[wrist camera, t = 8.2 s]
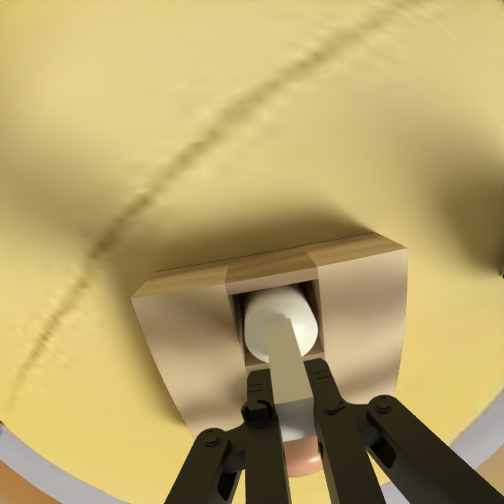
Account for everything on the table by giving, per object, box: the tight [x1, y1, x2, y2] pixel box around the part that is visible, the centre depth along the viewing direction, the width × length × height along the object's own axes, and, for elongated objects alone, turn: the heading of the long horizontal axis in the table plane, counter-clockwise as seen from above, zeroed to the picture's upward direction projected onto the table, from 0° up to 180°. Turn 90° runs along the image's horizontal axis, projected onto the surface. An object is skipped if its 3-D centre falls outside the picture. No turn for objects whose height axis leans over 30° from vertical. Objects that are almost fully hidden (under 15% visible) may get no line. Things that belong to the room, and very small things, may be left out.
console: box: [130, 233, 408, 440], centre depth 21 cm, size 20×18×5 cm
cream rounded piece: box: [245, 283, 318, 363], centre depth 18 cm, size 4×4×4 cm
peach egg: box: [283, 435, 323, 477], centre depth 20 cm, size 4×4×4 cm
